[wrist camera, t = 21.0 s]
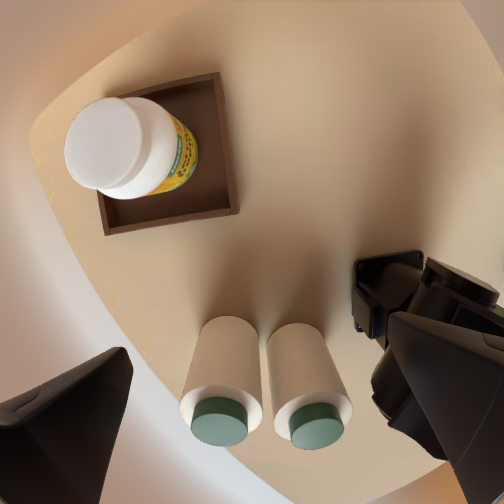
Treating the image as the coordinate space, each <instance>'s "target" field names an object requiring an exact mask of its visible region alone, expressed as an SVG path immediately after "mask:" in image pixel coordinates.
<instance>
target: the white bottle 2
mask: <svg viewBox="0 0 504 504" xmlns="http://www.w3.org/2000/svg"><path fill="white" fill-rule="evenodd" d="M266 353H267V363H268V373H269V383H270V393H271V403H272V413H273V423H274V428H275V430H276V431H277V433H278V434H279V435H280V436H282V437H283V438H285V439H288V440H291V442H292V443H293V445H295V446H296V447H298V448H300V449H305V450H314V449H320V448H323V447H326V446H328V445H331V444H332V443H334V442H335V441H337V440H338V439H339V438H340V437H341V435H342V434H343V431H344V425H345V424H346V423H347V422H348V421H349V419H350V417H351V414H352V404H351V401H350V399H349V397H348V394H347V392H346V390H345V387H344V385H343V383H342V380H341V378H340V376H339V373H338V371H337V369H336V366H335V364H334V362H333V360H332V357H331V355H330V353H329V350H328V348H327V346H326V344H325V341H324V339H323V337H322V335H321V333H320V332H319V331H318V330H317V329H316V328H315V327H313V326H311V325H309V324H305V323H292V324H288V325H285V326H283V327H281V328H279V329H278V330H277V331H275V332H274V333H273V334H272V336H271V337H270V339H269V340H268V343H267V347H266Z"/></svg>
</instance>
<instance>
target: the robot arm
mask: <svg viewBox="0 0 504 504" xmlns="http://www.w3.org/2000/svg"><path fill="white" fill-rule="evenodd" d="M418 254H419V256H418V258H417V255H418ZM423 258H424V255H423V252H422V251H420V250H418V249H416V250H410V251H404V252H398V253H392V254H386V255H380V256H373V257H367V258H360V259H358V260H356V262H355V265H354V271H355V285H354V286H353V287H352V316H353V317H354V318H355V323H354V327H355V329H356V331H357V332H365V334H366V335H367V337H368V338H370V339H371V340H372V339H376V340H377V342H378V343H379V345H380V346H381V347H382V349H383V350H384V351H385V353H384V355H383V356H382V358H381V360H380V362H379V363H378V364H377V366H376V368H375V370H374V372H373V374H372V378H371V384H372V388H373V391H374V394H373V396H372V399H373V401H374V403H375V404H376V406H377V407H378V408H379V410H380V412H381V413H382V414H383V416H384V417H385V418H386V419H387V420H389V422H388V426H389V427H391V428H394V429H396V430H398V431H401V432H403V433H404V434H406V435H408V436H409V437H411V438H412V439H414V440H415V441H416V442H417V443H419V444H420V445H421V446H422V447H423V448H424V449H425V450H426V451H427V452H428V453H429V454H430V455H432V456H433V457H434V458H436V459H441V460H445V461H449V462H450V464H451V466H452V468H453V469H454V473H455V475H456V477H457V479H458V481H459V484H460V486H461V488H462V491H463V493H464V495H465V498H466V500H467V502H468V504H498V503H499V502H501V501H502V500H503V499H504V308H502V307H500V306H499V305H497V304H496V302H497V300H498V297H499V295H500V293H498V292H497V291H496V290H495V289H494V288H493V287H492V286H491V285H489V284H487V283H485V282H483V281H481V280H479V279H477V278H475V277H474V276H472V275H470V274H467V273H465V272H463V271H461V270H458V269H456V268H454V267H451V266H449V265H447V264H444V263H442V262H439V261H437V260H435V259H432V258H430V257H427V260H426V263H425V265H426V267H425V269H424V270H423ZM361 263H363V266H362V267H361V268H359V265H360V264H361ZM359 326H360V328H359ZM132 376H133V366H132V363H131V360H130V358H129V355H128V353H127V350H126V349H125V348H124V347H113V348H111V349H109V350H107V351H105V352H103V353H101V354H100V355H98V356H96V357H94V358H92V359H90V360H88V361H86V362H84V363H83V364H80V365H79V366H77V367H75V368H73V369H71V370H69V371H67V372H65V373H63V374H61V375H59V376H57V377H55V378H53V379H52V380H50V381H48V382H45V383H44V384H42V385H39V386H38V387H36V388H34V389H32V390H29V391H27V392H25V393H23V394H21V395H19V396H16V397H14V398H12V399H10V400H7V401H5V402H2V403H0V504H99V501H100V497H101V493H102V489H103V485H104V481H105V477H106V473H107V469H108V466H109V462H110V458H111V455H112V451H113V448H114V444H115V441H116V438H117V434H118V431H119V427H120V424H121V421H122V418H123V415H124V412H125V408H126V404H127V400H128V395H129V390H130V385H131V381H132Z"/></svg>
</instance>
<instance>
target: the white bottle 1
mask: <svg viewBox="0 0 504 504" xmlns="http://www.w3.org/2000/svg"><path fill="white" fill-rule="evenodd" d="M179 409H180V413H181V416H182V418H183V419H184V421H185V422H186V423H187V424H188V425H189V426H190V427H191V431H192V433H193V434H194V436H195V437H196V438H198V439H199V440H200V441H202V442H204V443H207V444H210V445H214V446H232V445H235V444H238V443H240V442H242V441H243V440H244V439H245V438H246V436H247V434H248V433H250V432H252V431H253V430H254V429H256V428H257V427H258V425H259V424H260V422H261V421H262V418H263V404H262V388H261V372H260V355H259V340H258V335H257V332H256V331H255V329H254V328H253V326H252V325H251V324H249V323H248V322H247V321H245V320H243V319H241V318H238V317H235V316H220V317H216V318H214V319H212V320H210V321H209V322H207V323H206V324H205V325H204V326H203V328H202V329H201V332H200V335H199V338H198V342H197V345H196V348H195V352H194V355H193V359H192V362H191V365H190V369H189V372H188V376H187V379H186V383H185V386H184V390H183V394H182V397H181V401H180V404H179Z"/></svg>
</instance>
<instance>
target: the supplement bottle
mask: <svg viewBox="0 0 504 504" xmlns="http://www.w3.org/2000/svg"><path fill="white" fill-rule="evenodd" d="M64 156H65V162H66V166H67V168H68V170H69V172H70V174H71V176H72V177H73V178H74V179H75V180H76V181H77V182H78V183H79V184H81V185H82V186H84V187H86V188H91V189H97V190H99V191H100V192H101V193H103V194H105V195H107V196H109V197H112V198H116V199H134V198H138V197H142V196H147V195H152V194H158V193H163V192H167V191H171V190H174V189H176V188H178V187H179V186H181V185H182V184H183V183H184V182H185V181H186V180H187V179H188V178H189V177H190V176H191V174H192V173H193V171H194V169H195V167H196V164H197V160H198V148H197V143H196V140H195V138H194V136H193V134H192V133H191V132H190V130H189V129H188V128H187V127H186V126H185V125H183V124H182V123H181V122H180V121H178V120H177V119H176V118H175V117H174V116H172V115H171V114H170V113H169V112H168V111H166V110H165V109H164V108H162V107H161V106H160V105H158V104H156V103H155V102H153V101H150V100H148V99H144V98H138V97H130V98H124V99H119V98H114V97H107V98H101V99H98V100H95V101H93V102H91V103H90V104H88V105H87V106H85V107H84V108H83V109H82V110H81V111H80V112H79V113H78V114H77V115H76V117H75V118H74V119H73V121H72V123H71V125H70V127H69V129H68V131H67V135H66V138H65V144H64Z"/></svg>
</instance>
